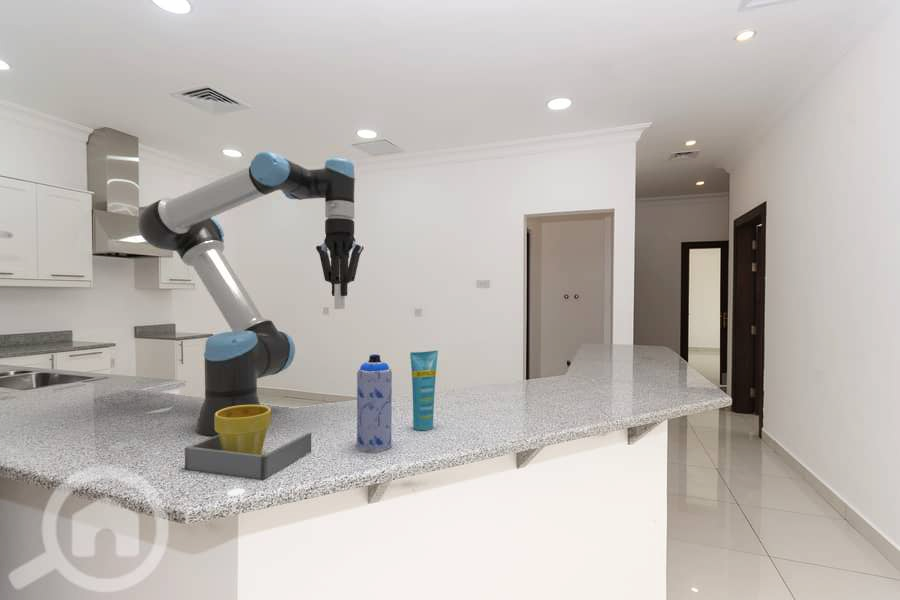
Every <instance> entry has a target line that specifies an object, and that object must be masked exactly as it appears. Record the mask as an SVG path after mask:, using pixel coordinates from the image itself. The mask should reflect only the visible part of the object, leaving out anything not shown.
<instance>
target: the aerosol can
mask: <svg viewBox="0 0 900 600" xmlns="http://www.w3.org/2000/svg"><path fill="white" fill-rule="evenodd" d="M368 357H369V359H368V360H366V362H363V363H362V364H361V365H360V367H359V368H358V369H357V372H356V376H357V377H356V382H357V383H356V385H357V387H356V397H357V398H356V444H355V449H356V450H357V451H360V452H364V453H381V452H385V451H388V450H390V449H392V447H393V442H392V411H393V410H392V395H393V394H392V392H393V391H392V389H393V387H392V386H393V385H392V383H393V379H392V378H393V375H392V368H391V367H390V366H389V364H388V363H386V362H385V361H383V360H381V355H380V354H370V355H369V356H368Z"/></svg>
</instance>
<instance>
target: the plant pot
mask: <svg viewBox="0 0 900 600" xmlns="http://www.w3.org/2000/svg"><path fill="white" fill-rule="evenodd" d="M271 421H272V409H271V407H269V406H267V405H263V404H260V405H240V406H233V407H228V408H224V409H221V410H219V411H217V412H216V413H215V416H214V425H215V431H216V432H217V433H219V438H220V442H221V446H222V451H231V452H239V453H248V454H257V455H262V453H263V452H262V451H263V448H264V443H265V439H266V434H267V431H268V428H270V426H271V424H272V423H271Z"/></svg>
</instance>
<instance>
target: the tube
mask: <svg viewBox="0 0 900 600" xmlns="http://www.w3.org/2000/svg"><path fill="white" fill-rule="evenodd" d="M438 351H439V350H428V351H415V352H413V351H411V352H410V355H409V357H410V365H411V384H412V417H413V418H412V422H413V424H412V425H413V429H415V430H417V431H430V430H432V429H433V428H434V412H435V411H434V407H435V391H436V377H437V375H436V374H437V363H438V355H439V352H438Z"/></svg>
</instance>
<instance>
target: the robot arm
mask: <svg viewBox="0 0 900 600" xmlns="http://www.w3.org/2000/svg"><path fill="white" fill-rule="evenodd" d="M324 163H325V164H324V168H319V169H318V168H317V169H308V168H304V167H303V166H301V165H299V164H297V163H295V162H292V160H291V161H290V160H288V159H287V158H285V157H283V156H282V155H280V154H279V153H274V152H271V151H268V150H267V151H265V150H264V151H260V152H258V153H257V154H255V156H254V157H253V158H252V160H251V161H250V165H249V166H247V167H245V168H244V167H243V168H242V169H240V170H238V171H235V172H233V173H230V174H228V175H226V176H224V177H222V178H218V179H216V180H214V181H212V182H209V183H207V184H205V185H203V186H201V187H198V188H195V189H194V190H191V191H189V192H187V193H184V194H182V195H179V196H177V197H175V198H171V197H163V198H161V199H159V200H156V201H155V202H153V203H151V204H149V205H148V206H147V207H145V208H144V209H143V210H142V212H141V214H140V216H139V218H138V230H139V233H140V235H141V236H142V238H143V239H144V240H145V242H146V243H148V244H149V245H151V246H152V247H154V248H156V249H159V250H165V251H166V250H167V251H173V252H176V253H177V254H178V256H179V257H180V260H182V262H183V263H184V264H185V265H186V266H190V267H193V269H194V271H195V272H196V274H197V275H198V277H199V279H200V281H201V282H202V284H203V285H204V287H205V288H206V290H207V292H208V294H209V295H210V296H211V298H212V300H213V301H214V303H215V305H216V306H217V308H218V310H219V312H220V313H221V315H222V316H223V318H224V320H225V321H226V323H227V325H228V326H229V328H230V329H231V331H227V332H226V331H225V332H221V333H216V334H214V335H212V336H210V337H208V338H207V339H206V341H205V347H204V352H203V356H204V401H203V404H202V406H201V410H200V413H199V417H198V418H197V421H196V432H197V433H198V434H200V435H203V436H210V437H211V436H212V437H214V436H217V435H219V433H217V432H216V431H215V425H214V416H215V413H216V412H217V411H219V410H221V409H224V408H228V407H233V406H240V405H261V402H260V400H259V396H258V390H257V389H258V379H261V378H265V377H267V376H268V377H269V376H273V375H274V376H275V375H277V374H279V373H281V372H284V371H285V370H287V369H288V368H289V367H290V366H291V365H292V363H293V361H294V358H295V354H296V346H295V342H294V340H293V339H292V337H291V336H290V335H289V334H288V333H286V332H283V331H281V330H278V329H277V327H276V325H275V324H274V322H273V321H272V320H271V319H268V318H264V316H263V315H262V314H261V313H260V311H259V309H258V308H257V306H256V304H255V303H254V302H253V299H252V298H251V296H250V294H249V293H248V291H247V290H246V288H245V287H244V285H243V283H242V282H241V280H240V279H239V277H238V275H237V274H236V273H235V271H234V269H233V267H232V266H231V264H230V262H229V261H228V260H227V258H226V256H225V255H224V253H223V252H224V249H225V245H224V240H225V239H223V238H224V236H225V233H224V231H223V227H222V226H221V225H220V223H219V222H218V221H217V220H216V219H215V218H213V217H216V216H218V215H220V214H223V213H225V212H227V211H230V210H232V209H235V208H238V207H240V206H242V205H244V204H246V203H249V202H251V201H254V200H257V199H259V198H261V197H263V196H266V195H269V194H271V193H275V192H277V191H282V193H283V195H285V197H286V198H288V199H289V200H299V201H300V200H301V201H302V200H309V199H325V200H324V201H325V205H324V207H325V208H324V210H325V211H324V213H325V215H324V216H325V218H326V220H324V234H325V238H324V241H323V243H322V244H320V245H317V246H316V247H315V248H316V251H317V253H318V254H319V258H320V263H321V268H322V272H323V278H324V281H325V282H327V283H330V284H331V296H332V297H334V301H333V302H334V304H333V305H334V307H333V308H334V309H335V310H342V309H344V310H345V309H346V308H345V302H346V301H345V297H347V296H348V284H349V283H352V282H354V281H355V279H356V274H357V270H358V265H359V261H360V257H361V254H362V252H363V251H364V248H365V247H364V246H363V245H360V244H358V243H357V242H356V239H355V221H354V220H353V219H355V181H356V178H355V166H354V163H353V162H352V161H350V160H348V159H345V158H340V157H333V158H329V159H326V160H325V162H324ZM351 250H352V251H351ZM328 251H329V253H328ZM350 253H351V255H350ZM329 257H330V258H329ZM349 258H350V259H349Z"/></svg>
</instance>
